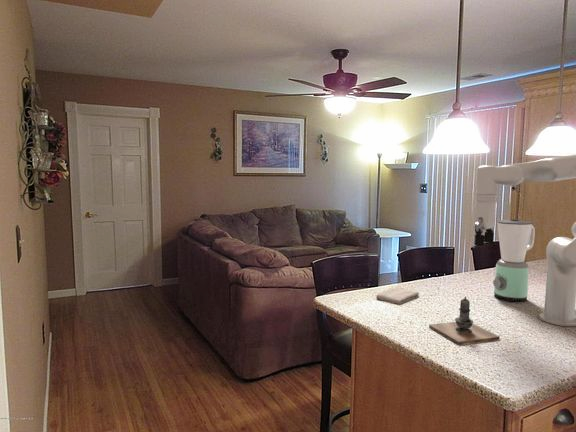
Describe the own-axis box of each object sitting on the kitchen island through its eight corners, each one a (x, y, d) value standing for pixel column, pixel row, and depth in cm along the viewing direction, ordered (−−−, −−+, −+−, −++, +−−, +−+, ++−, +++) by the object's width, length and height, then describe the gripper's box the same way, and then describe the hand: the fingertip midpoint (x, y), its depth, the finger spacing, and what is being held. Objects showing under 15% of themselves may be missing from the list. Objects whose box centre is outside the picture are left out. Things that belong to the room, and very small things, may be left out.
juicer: (508, 304, 179) (513, 222, 175) (483, 296, 192) (487, 218, 188) (541, 300, 186) (547, 220, 182) (515, 292, 198) (520, 217, 194)
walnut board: (466, 323, 157) (467, 320, 157) (499, 339, 142) (499, 336, 142) (429, 327, 153) (429, 324, 153) (458, 344, 138) (458, 341, 138)
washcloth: (420, 297, 191) (420, 290, 191) (400, 306, 178) (400, 299, 178) (396, 291, 200) (396, 285, 199) (375, 300, 186) (375, 293, 186)
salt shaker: (457, 326, 152) (459, 293, 150) (475, 329, 148) (476, 296, 147) (452, 330, 147) (453, 296, 146) (470, 335, 143) (471, 300, 142)
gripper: (484, 197, 169) (482, 240, 171) (467, 199, 156) (465, 245, 158) (504, 198, 164) (502, 242, 166) (488, 200, 151) (486, 248, 153)
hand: (484, 243), depth 162 cm, fingers open, 9 cm apart
